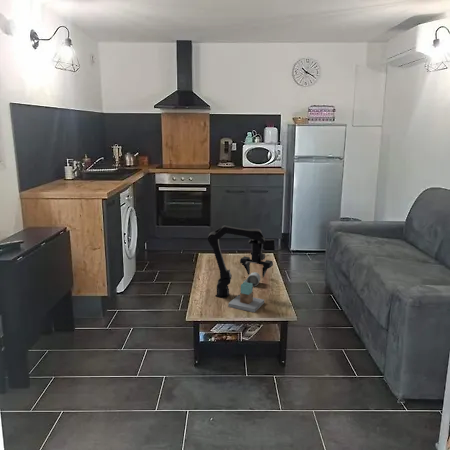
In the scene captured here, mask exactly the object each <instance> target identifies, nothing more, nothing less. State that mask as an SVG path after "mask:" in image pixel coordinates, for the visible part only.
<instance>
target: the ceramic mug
mask: <svg viewBox="0 0 450 450" xmlns="http://www.w3.org/2000/svg"><path fill="white" fill-rule="evenodd" d="M260 281H261V275H260V273H258V272H256V271H255V272H250V274H249V275H248V276H247V277H246V279H245V280H243V283H244V282H247V283H252V284H253V288H254V287H256V286H258V285H259V283H260ZM243 283H242V284H243Z"/></svg>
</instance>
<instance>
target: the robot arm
mask: <svg viewBox="0 0 450 450" xmlns="http://www.w3.org/2000/svg"><path fill="white" fill-rule="evenodd" d="M226 234H228V235H233V236H234V235H235V236H239V237H241V236H242V237H247V238H248V239H249V240H248V244H250V245H251V253H250V255H251V257H249V256H243V257H240V260H239V264H241V265H242V266H243V268H244V269H245V270H246V273H247V275H248V276H249V275H250V274H251V272H250V271H251V270H250V266H251V265H250V264H257V265H263V267H262V271H261V272H262V278H265V275H266V273H267V270H269V269H271V268H272V267H273V266H274V262H273V260H269V259H266V260H265V258H266V254H265V253H263V251H262V250H264V251H265V252H275V249H276V247H275V239H274V238H271V239H269V238H268V239H266V238H265V236H264V235H263V233H262V230H261V229H260V228H256V227H255V228H243V227H236V226H229V225H225V224H224V225H222V226H221V227H220V228H217V229H216V230H214V231H210V233H208V236H207V243H209V246H210V247H211V248H212V251H213V253H214V256H215V260H216V263H217V267H218V269H219V278H218V280H217V284H216V294H215V297H218V298H220V299H221V298H222V299H227V297H229V296H230V288H229V285H230V284H231V280H232V273H231V269H227V266H226V263H225V260H224V256H223V254H222V249H221V247H220V239H221V238H222V237H223V236H225V235H226ZM263 260H264V261H263Z"/></svg>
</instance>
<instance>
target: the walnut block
mask: <svg viewBox="0 0 450 450" xmlns="http://www.w3.org/2000/svg"><path fill="white" fill-rule="evenodd" d="M239 295H240V302H241V303H246V304H250V303H251V302H252V301H253V297H254V291H252V293H250V294H249V295H247V294H242V293H241V292H240V294H239Z"/></svg>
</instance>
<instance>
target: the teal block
mask: <svg viewBox="0 0 450 450" xmlns="http://www.w3.org/2000/svg"><path fill="white" fill-rule="evenodd" d="M253 288H254V287H253V284H252V283H247V282H244V283H241V284H240V293H242V294H247V295H249V294H250V293H252V292H254V290H253Z"/></svg>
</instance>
